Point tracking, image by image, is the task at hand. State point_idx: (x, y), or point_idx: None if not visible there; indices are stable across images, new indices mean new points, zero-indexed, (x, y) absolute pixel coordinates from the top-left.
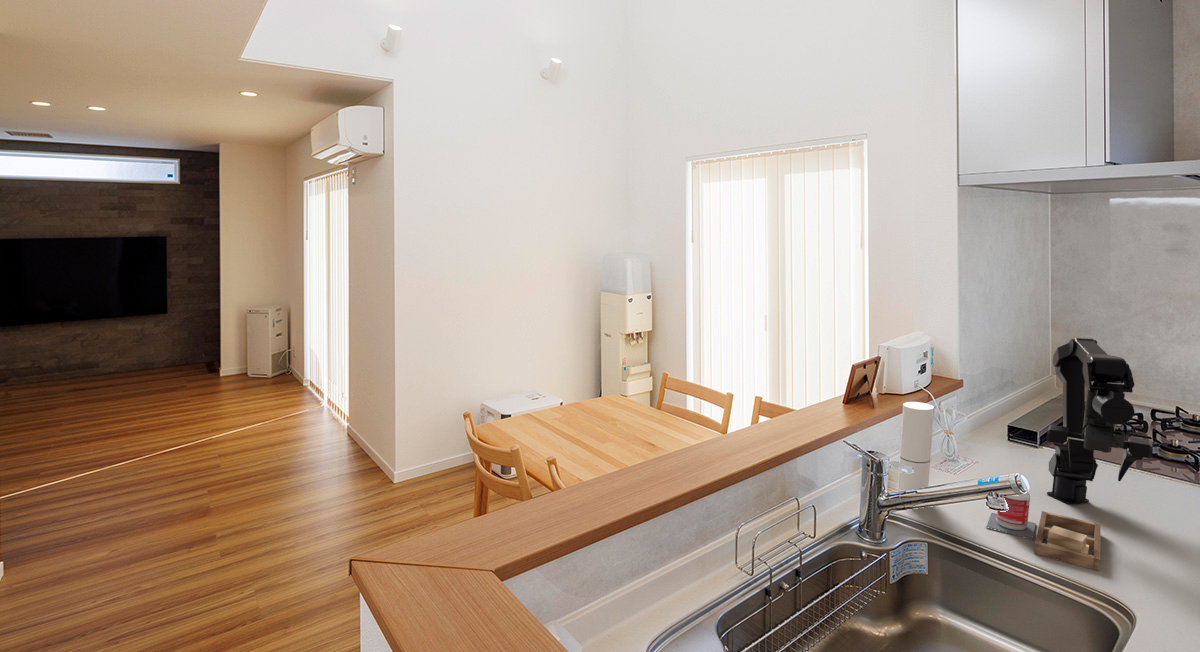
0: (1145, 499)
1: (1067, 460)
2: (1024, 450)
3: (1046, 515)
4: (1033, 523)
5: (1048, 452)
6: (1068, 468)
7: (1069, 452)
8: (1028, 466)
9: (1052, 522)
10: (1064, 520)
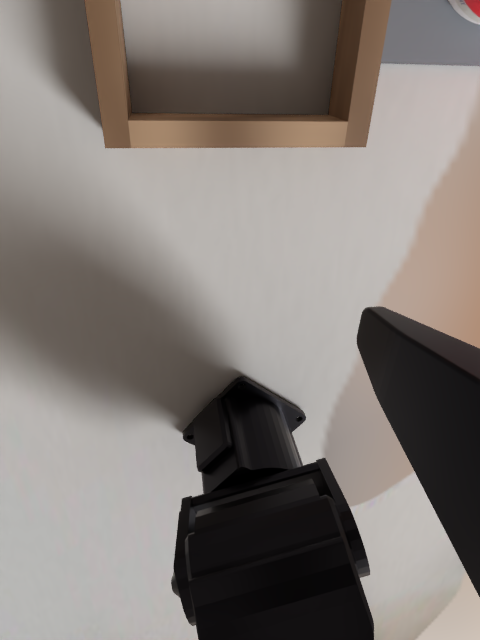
0: (48, 539)
1: (474, 360)
2: None
3: (348, 103)
4: (388, 49)
5: None
6: (392, 317)
7: (477, 513)
8: None
9: (306, 116)
10: (264, 118)
